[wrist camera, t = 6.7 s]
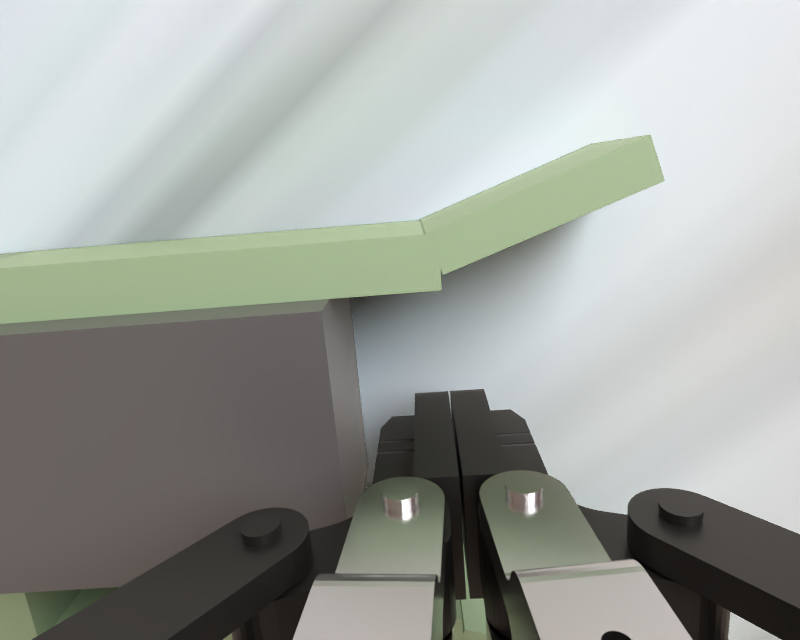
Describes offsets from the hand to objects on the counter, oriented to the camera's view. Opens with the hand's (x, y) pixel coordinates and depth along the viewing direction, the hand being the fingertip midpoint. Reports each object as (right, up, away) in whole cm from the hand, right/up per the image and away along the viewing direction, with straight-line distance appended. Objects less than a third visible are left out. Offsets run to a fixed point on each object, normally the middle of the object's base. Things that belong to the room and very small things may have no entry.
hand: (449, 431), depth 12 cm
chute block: (-6, +1, +2) cm, 6 cm away
